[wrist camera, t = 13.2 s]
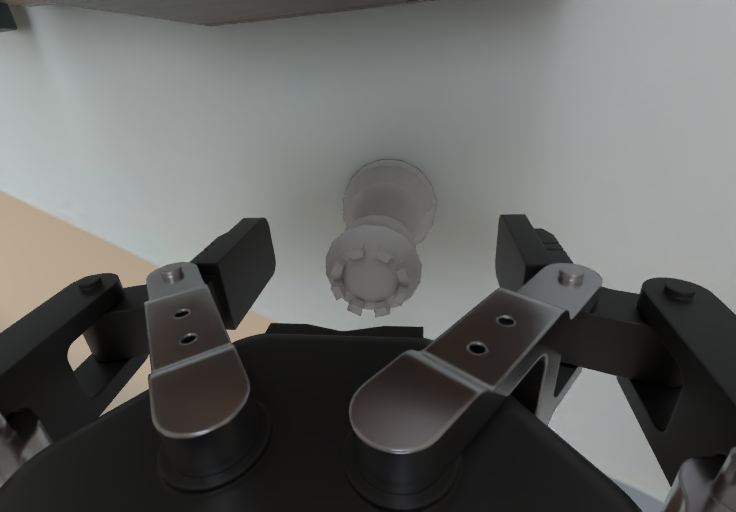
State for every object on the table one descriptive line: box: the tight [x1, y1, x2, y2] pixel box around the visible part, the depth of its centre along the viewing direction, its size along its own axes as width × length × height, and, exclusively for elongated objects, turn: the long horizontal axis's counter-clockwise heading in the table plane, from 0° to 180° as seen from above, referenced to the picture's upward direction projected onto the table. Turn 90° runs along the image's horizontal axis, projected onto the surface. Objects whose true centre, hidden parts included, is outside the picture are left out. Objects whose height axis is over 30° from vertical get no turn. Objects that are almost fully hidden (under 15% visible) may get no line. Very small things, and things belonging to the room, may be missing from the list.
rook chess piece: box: [326, 159, 436, 317], centre depth 16 cm, size 4×4×8 cm
